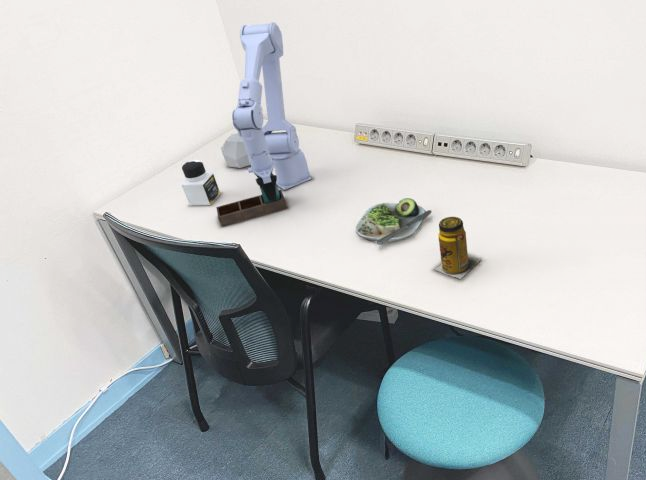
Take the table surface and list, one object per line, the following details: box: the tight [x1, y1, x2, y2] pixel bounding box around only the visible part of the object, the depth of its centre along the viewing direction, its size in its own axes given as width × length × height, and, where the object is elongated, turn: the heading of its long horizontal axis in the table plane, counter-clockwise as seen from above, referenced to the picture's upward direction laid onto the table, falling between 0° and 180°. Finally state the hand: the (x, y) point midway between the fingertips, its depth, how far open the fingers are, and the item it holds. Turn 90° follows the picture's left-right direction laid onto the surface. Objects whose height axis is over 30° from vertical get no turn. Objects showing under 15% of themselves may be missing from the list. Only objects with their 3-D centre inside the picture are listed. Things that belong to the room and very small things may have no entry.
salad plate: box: [355, 197, 432, 246], centre depth 153 cm, size 19×18×5 cm
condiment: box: [433, 216, 482, 280], centre depth 135 cm, size 7×8×12 cm
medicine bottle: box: [181, 159, 221, 207], centre depth 178 cm, size 7×7×12 cm
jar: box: [256, 172, 281, 204], centre depth 169 cm, size 5×5×8 cm
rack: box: [215, 189, 288, 228], centre depth 171 cm, size 19×7×3 cm, turn 108°
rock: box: [220, 132, 251, 169], centre depth 199 cm, size 18×20×10 cm
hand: (271, 195), depth 171 cm, fingers closed on jar, 4 cm apart
